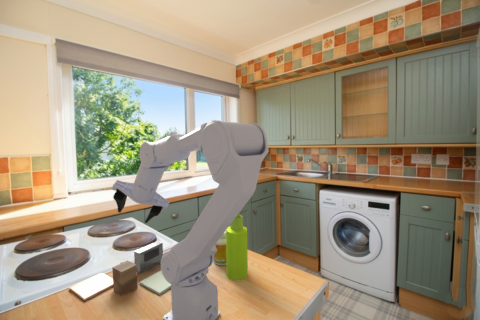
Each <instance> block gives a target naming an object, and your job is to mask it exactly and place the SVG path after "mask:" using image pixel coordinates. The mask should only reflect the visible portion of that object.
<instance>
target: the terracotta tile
mask: <svg viewBox="0 0 480 320" xmlns="http://www.w3.org/2000/svg"><path fill="white" fill-rule="evenodd" d="M111 288H113V277H111V276H109V275H107V274H105V273H103V272H100V273H98V274H96V275H93V276H91V277H89V278H86V279H85V280H82V281H80V282H78V283H75V284H74V285H72V286H69V290H70V291H71V292H72V293H73V294H75V295H76V296H77V297H79V298H80V299H81V300H83V301H84V302H86V301H88V300H90V299H92V298H93V297H95V296H97V295H99V294H101V293H103V292H105V291H107V290H109V289H111Z"/></svg>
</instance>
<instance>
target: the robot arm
mask: <svg viewBox="0 0 480 320" xmlns="http://www.w3.org/2000/svg"><path fill="white" fill-rule="evenodd" d="M167 135H168V136H166V137H159V138H157V141H155V142H151V141H144V142H143V143H142V144H141V145H140V147H139V160H140V165H139V167H138V170H137V173H136V177H135V179H134V181H133V182H126V181H122V180H119V179H116V181H115V182H114V183H113V184H112V187H111V190H112V191H114V192H115V193H114V194H113V195H112V196H113V197H112V198H113V200H114V201H115V203H116V207H117V212H118V213H121V212H122V211H123V209H124V208H125V205H126V201H127V198H129V199H130V200H132V201H133V202H134V203H136V204H139V205H148V206H152V207H151V209H150V211H149V213H148V215H147V216H146V219H145V221H144V223H146V224H148V222H149V221H150V220H152V218H154V217H156V216H159V214H160V213H161V212H162V211H167V209H168V206H169V205H170V203H171V201H170V200H169V199H166V198H164V197H163V196H162V195H161V194H159V193H158V192H157V189H158V188H159V185H160V183H161V180H162V178H163V175H164V173H165V172H166V171H168V169H169V168H170V167H173V165H174V164H175V163H178V162H182V161H185V160H186V159H188V158H189V156H190V155H191V152H196V151H199V152H203V153H202V154H203V156H204V159H205V161H206V162H205V163H206V164H207V167H208V169H209V171H210V175H211V177H212V180H213V181H214V182H215V183H217V184H218V186H217V187H216V189H215V190H214V192H213V194H212V195H211V197H210V199H209V200H208V202H207V203H206V205H205V206H204V208H203V210H202V211H201V212H200V215H199V216H198V217H197V219H196V221H195V222H194V224H193V226H192V227H191V228H190V230H189V232H188V234H187V236H185V238H184V239H182V240H181V241H179V242H177V243H176V244H174V245H173V246H171V248H170V249H169V250H167V251H166V252H163V255H162V259H161V263H160V270H161V271H162V274H163V276H164V278H165V279H166V281H167V282H169V283H170V284H171V288H170V292H171V294H170V295H171V299H170V300H171V310H170V311H168V312H167V313H166V314H165V315H164V316H163V317H162V320H216V319H218V318H219V316H221V311H220V310H219V298H218V297H219V295H218V294H219V293H218V292H219V290H218V287H217V285H216V284H215V283H213V282H212V281H211V280H210V279H209V278H208V276H207V274H209V268H210V267H211V266H212V265H213V263H214V255H215V253H216V252H217V249H216V246H215V244H216V243H217V241H218V240H219V239H220V237H221V236H222V235H223V233H224V232H225V231H226V229H227V228H228V227H230V226H231V223H232V221H233V220H234V219H235V218H236V216H237V215H238V214H239V212H240V213H241V211H242V209H243V208H244V207H245V206H246V204H247V203H248V202H249V200H250V199H251V198H252V196H253V195H254V193H255V191H256V189H257V184H258V179H259V175H260V172H261V171H260V170H261V166H262V163H263V162H262V161H263V160H264V159H265V157H266V156H267V154H268V153H269V152H270V151H269V150H270V149H269V144H268V140H267V136H266V135H267V134H266V132H265V130H264V128H263V127H262V126H261V125H260V124H258V123H256V122H246V123H245V122H234V121H233V122H231V121H221V120H217V119H213V120H210V121H208V122H203V123H201V125H200V127H198V128H196V129H194V130H192V131H191V132H188V133H186V134H185V135H184V134H181V133H178V132H175V131H171V132H169V133H168V134H167Z"/></svg>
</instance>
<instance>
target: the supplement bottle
mask: <svg viewBox="0 0 480 320" xmlns="http://www.w3.org/2000/svg"><path fill="white" fill-rule="evenodd" d="M215 246H216V249H217V252H216V253H215V255H214V260H213V263H214V264H215V265H217V266H226V231H225V232H224V233H223V235H222V236H221V237H220V239H219V240H218V241H217V243H216V244H215Z"/></svg>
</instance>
